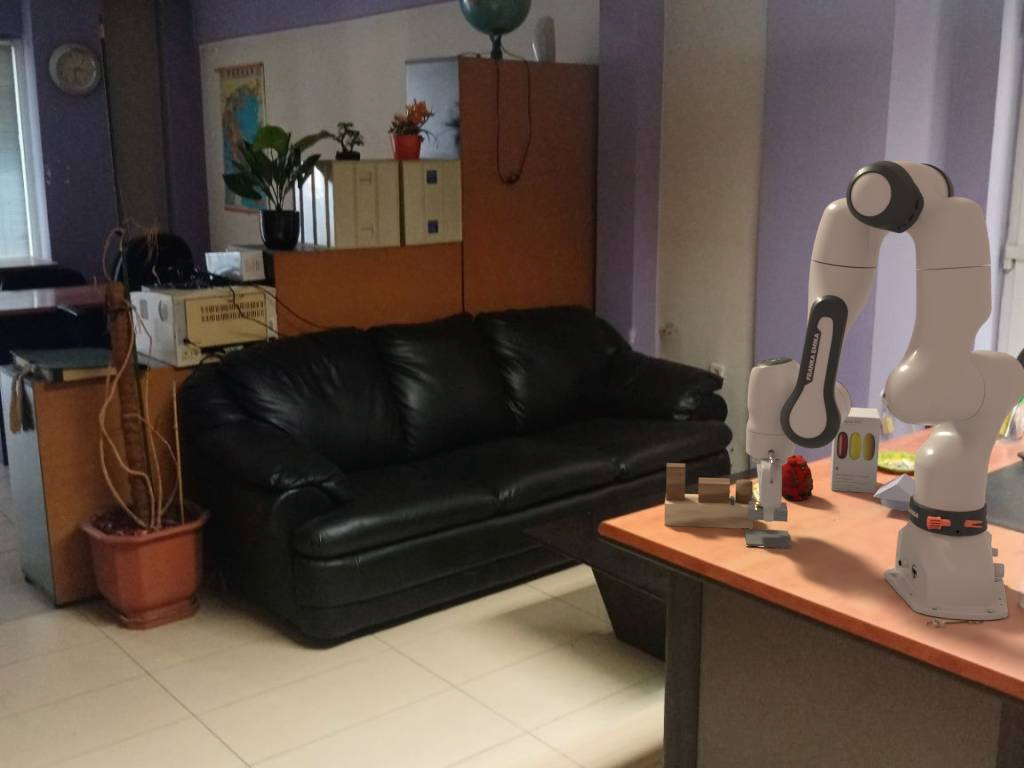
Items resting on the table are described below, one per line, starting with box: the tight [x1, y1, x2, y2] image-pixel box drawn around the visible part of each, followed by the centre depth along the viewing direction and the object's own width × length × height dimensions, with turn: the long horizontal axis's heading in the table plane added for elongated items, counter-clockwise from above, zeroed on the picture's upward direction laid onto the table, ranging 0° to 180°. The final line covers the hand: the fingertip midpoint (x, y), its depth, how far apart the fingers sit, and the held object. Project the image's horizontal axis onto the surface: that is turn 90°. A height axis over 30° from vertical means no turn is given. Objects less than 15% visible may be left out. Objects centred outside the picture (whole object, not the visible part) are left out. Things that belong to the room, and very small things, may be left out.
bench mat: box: [744, 528, 792, 549], centre depth 193 cm, size 8×8×1 cm
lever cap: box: [748, 500, 789, 522], centre depth 192 cm, size 5×7×3 cm
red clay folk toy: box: [781, 454, 814, 502], centre depth 216 cm, size 8×7×15 cm
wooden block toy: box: [664, 462, 754, 529], centre depth 203 cm, size 6×17×12 cm, turn 79°
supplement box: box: [829, 407, 881, 494], centre depth 222 cm, size 10×9×17 cm
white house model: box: [872, 472, 914, 512], centre depth 209 cm, size 9×7×13 cm
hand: (767, 514), depth 193 cm, fingers closed on lever cap, 5 cm apart
